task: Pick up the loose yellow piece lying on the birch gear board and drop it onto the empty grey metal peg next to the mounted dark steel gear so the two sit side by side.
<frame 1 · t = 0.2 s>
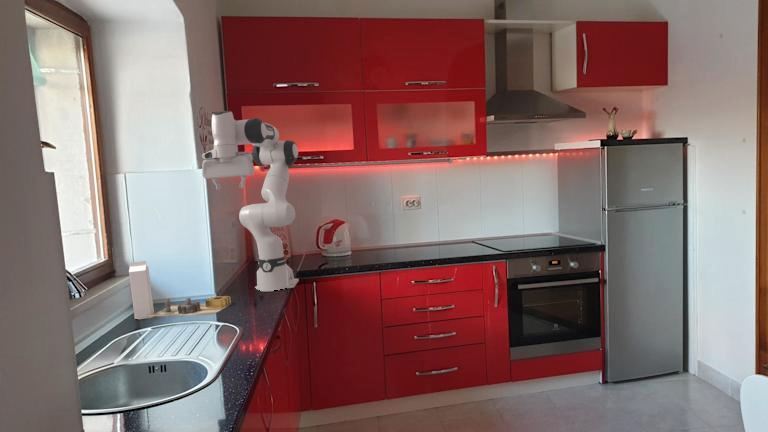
hand: (230, 188, 200), 47 cm above the counter, tool pointing down, fingers open, 8 cm apart
yellow piece: (218, 305, 204), point 1 cm above the counter, touching gear board
milk: (144, 317, 202), on the counter
gear board: (191, 313, 201), on the counter
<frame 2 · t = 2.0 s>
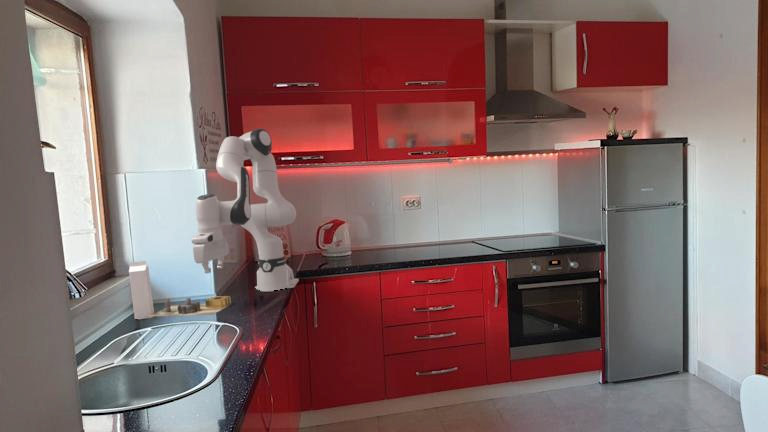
hand: (214, 270, 202), 16 cm above the counter, tool pointing down, fingers open, 8 cm apart
nothing on the counter moved.
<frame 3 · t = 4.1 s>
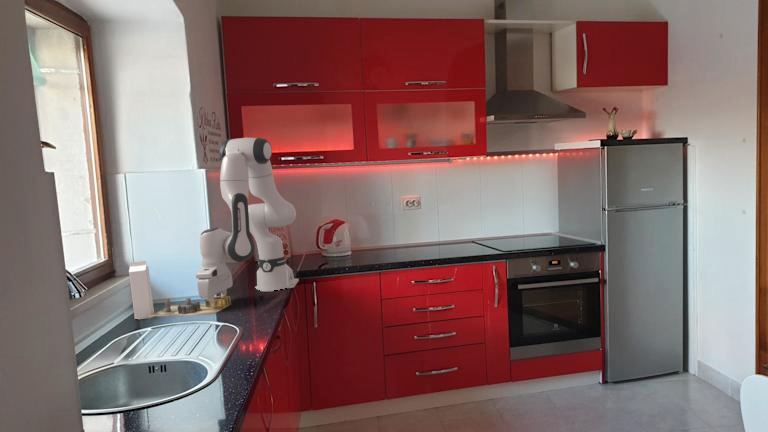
hand: (218, 303, 204), 2 cm above the counter, tool pointing down, fingers closed on yellow piece, 6 cm apart
yellow piece: (218, 305, 204), point 2 cm above the counter, touching gear board, gripper
everything else where it was.
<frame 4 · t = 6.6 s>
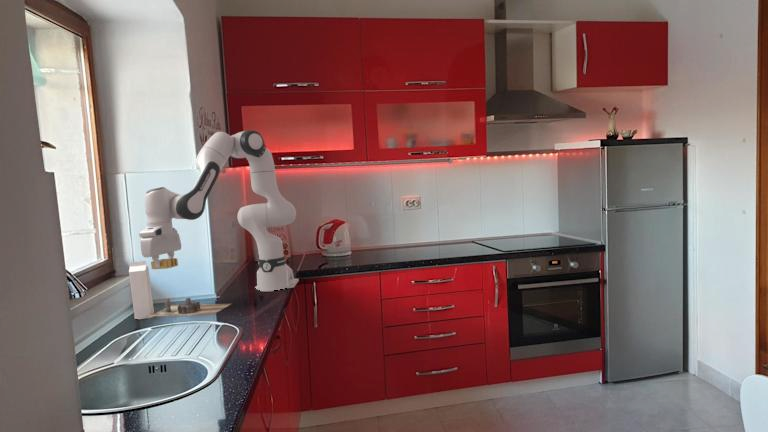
hand: (164, 265, 199), 20 cm above the counter, tool pointing down, fingers closed on yellow piece, 6 cm apart
yellow piece: (165, 267, 199), point 19 cm above the counter, touching gripper
everything else where it was.
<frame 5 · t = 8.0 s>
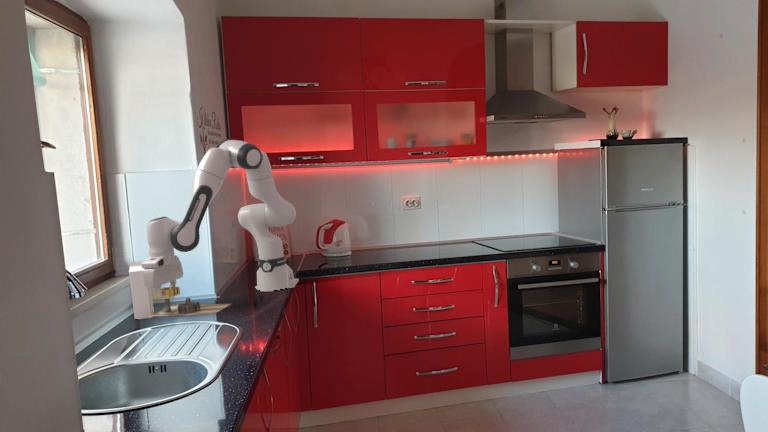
hand: (166, 294, 199), 9 cm above the counter, tool pointing down, fingers closed on yellow piece, 6 cm apart
yellow piece: (167, 296, 199), point 8 cm above the counter, touching gripper
everything else where it was.
when the fingers open (5 cm above the counter, at t = 9.3 s): yellow piece drops 3 cm, resting on gear board.
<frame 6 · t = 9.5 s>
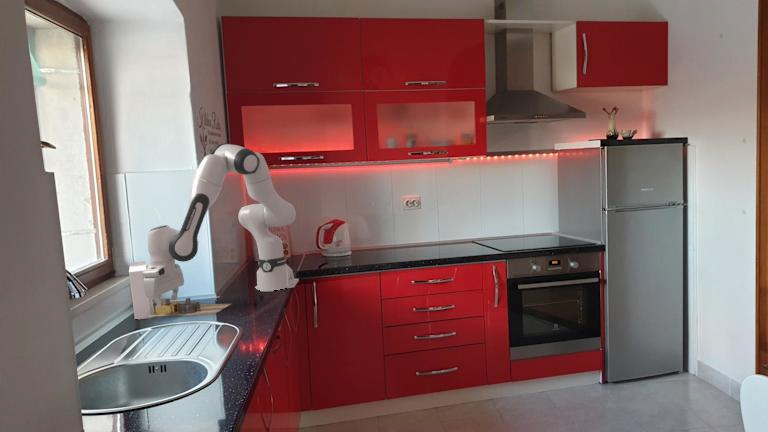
hand: (167, 302, 200), 5 cm above the counter, tool pointing down, fingers open, 8 cm apart
yellow piece: (168, 311, 200), point 2 cm above the counter, touching gear board
everything else where it was.
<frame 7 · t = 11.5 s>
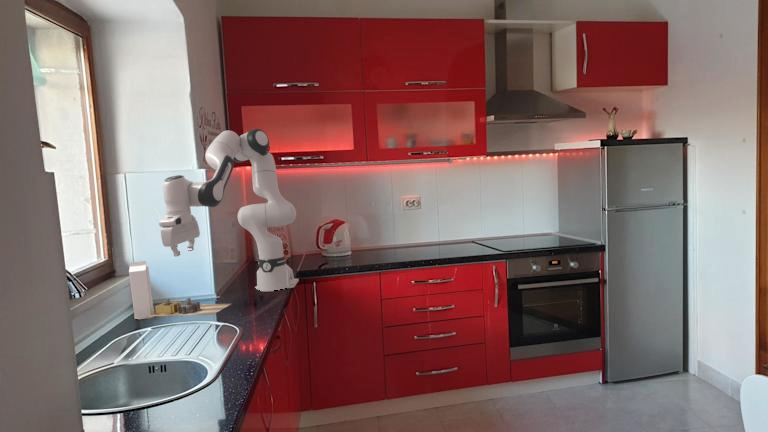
hand: (184, 253, 200), 24 cm above the counter, tool pointing down, fingers open, 8 cm apart
nothing on the counter moved.
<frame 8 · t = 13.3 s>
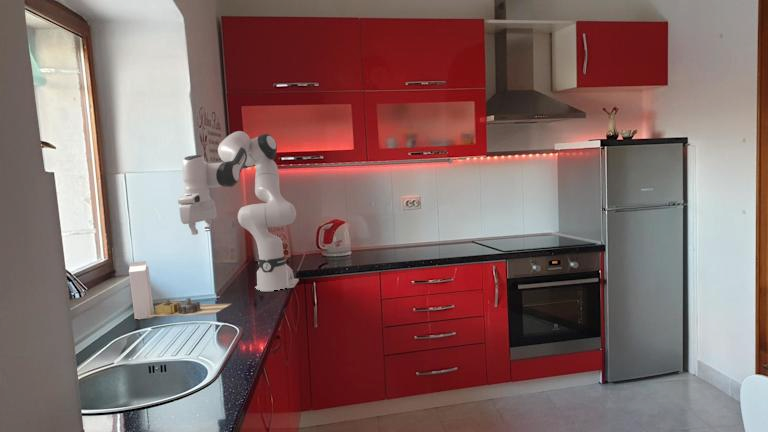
hand: (201, 232, 200), 31 cm above the counter, tool pointing down, fingers open, 8 cm apart
nothing on the counter moved.
at the end: yellow piece 0.2 cm from the target spot, point 1.6 cm above the counter; yellow piece tilted 0°; the gripper is holding nothing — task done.
